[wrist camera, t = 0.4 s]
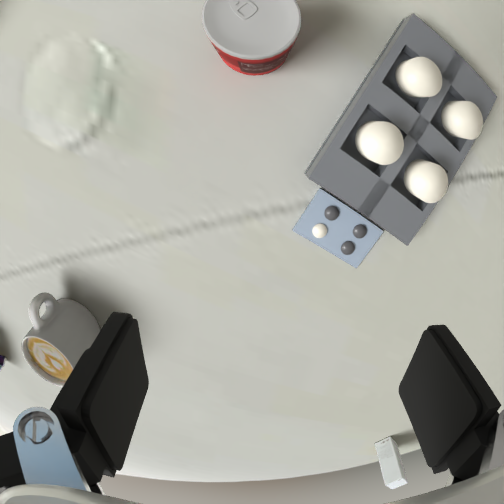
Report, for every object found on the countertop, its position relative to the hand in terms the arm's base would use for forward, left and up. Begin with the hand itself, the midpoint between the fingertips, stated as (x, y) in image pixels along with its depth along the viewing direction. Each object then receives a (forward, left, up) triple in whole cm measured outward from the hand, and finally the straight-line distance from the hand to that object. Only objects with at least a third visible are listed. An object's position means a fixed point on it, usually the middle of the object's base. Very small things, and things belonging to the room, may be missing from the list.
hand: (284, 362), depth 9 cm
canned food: (-13, -9, -29) cm, 33 cm away
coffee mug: (+33, -16, -29) cm, 47 cm away
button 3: (-19, +7, -26) cm, 33 cm away
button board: (-12, +11, -28) cm, 33 cm away
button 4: (-19, +14, -26) cm, 35 cm away
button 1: (-10, +7, -26) cm, 29 cm away
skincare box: (+35, +55, -29) cm, 71 cm away
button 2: (-10, +15, -26) cm, 31 cm away
